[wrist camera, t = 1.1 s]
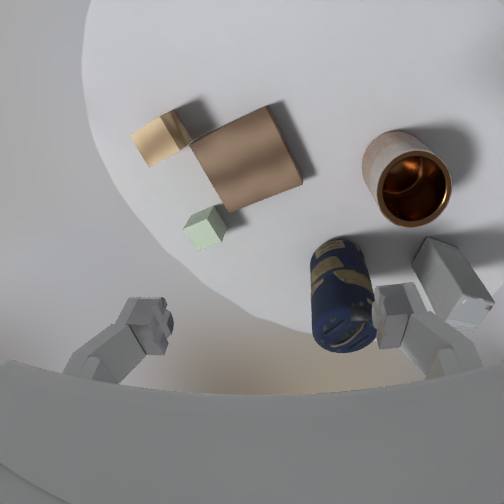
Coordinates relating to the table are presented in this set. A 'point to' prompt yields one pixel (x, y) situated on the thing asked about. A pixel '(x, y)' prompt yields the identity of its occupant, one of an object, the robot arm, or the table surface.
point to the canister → (341, 298)
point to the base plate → (247, 160)
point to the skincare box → (452, 285)
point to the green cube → (205, 228)
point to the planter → (406, 179)
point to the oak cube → (161, 138)
